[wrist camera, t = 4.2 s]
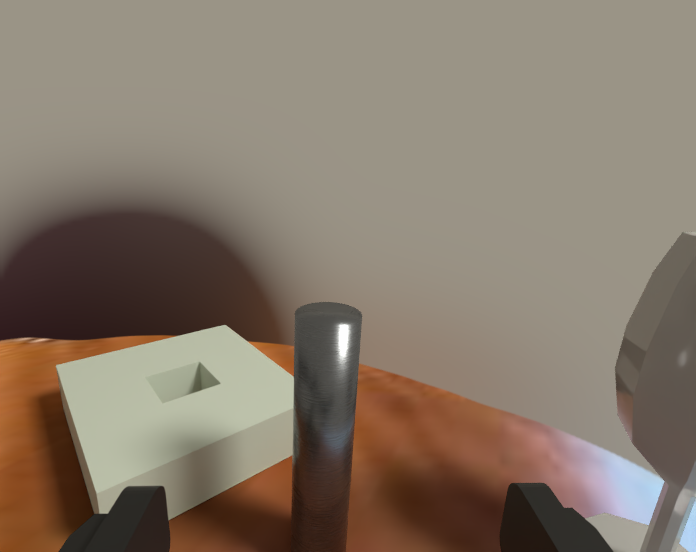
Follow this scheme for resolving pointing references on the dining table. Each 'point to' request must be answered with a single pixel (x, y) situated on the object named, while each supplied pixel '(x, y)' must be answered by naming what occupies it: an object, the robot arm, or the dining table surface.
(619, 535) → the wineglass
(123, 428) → the hole block
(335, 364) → the peg
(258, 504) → the dining table surface
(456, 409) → the dining table surface
